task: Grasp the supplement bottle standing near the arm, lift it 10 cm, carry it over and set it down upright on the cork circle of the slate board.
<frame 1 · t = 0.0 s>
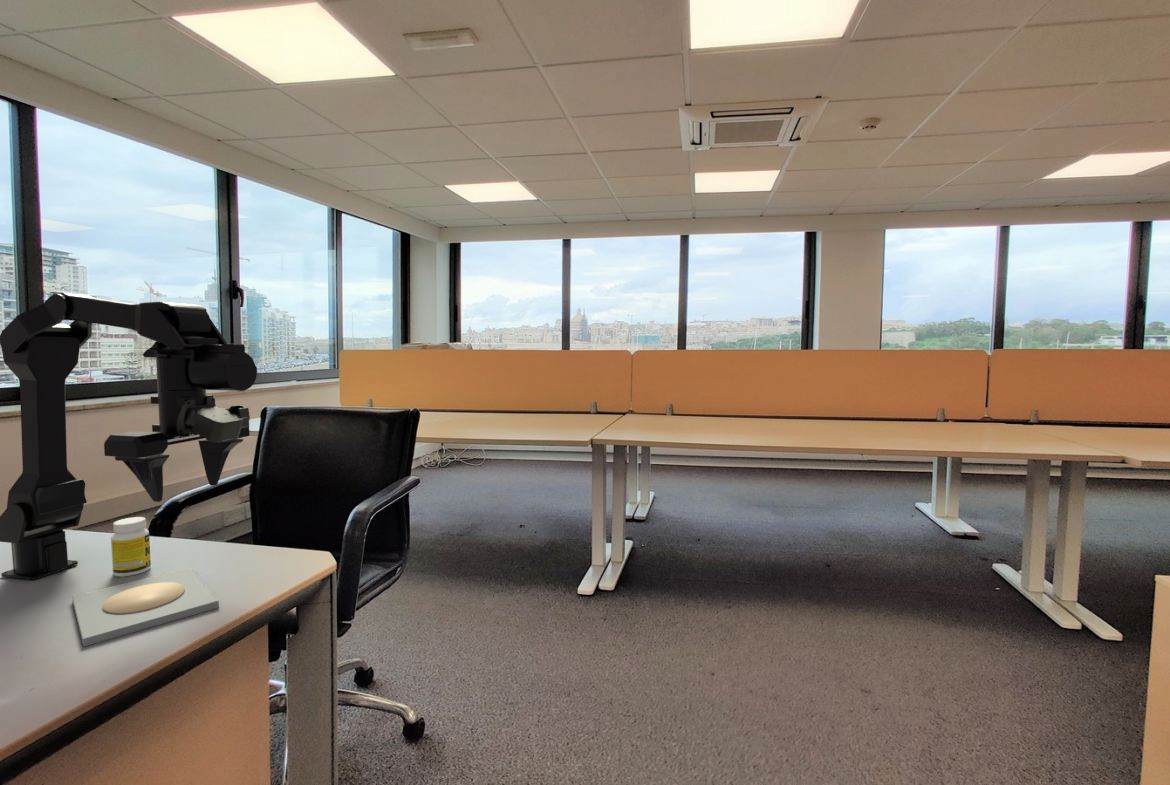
hand: (187, 492, 80), 15 cm above the table, fingers open, 9 cm apart
supplement bottle: (132, 572, 87), on the table
slate board: (145, 604, 76), on the table
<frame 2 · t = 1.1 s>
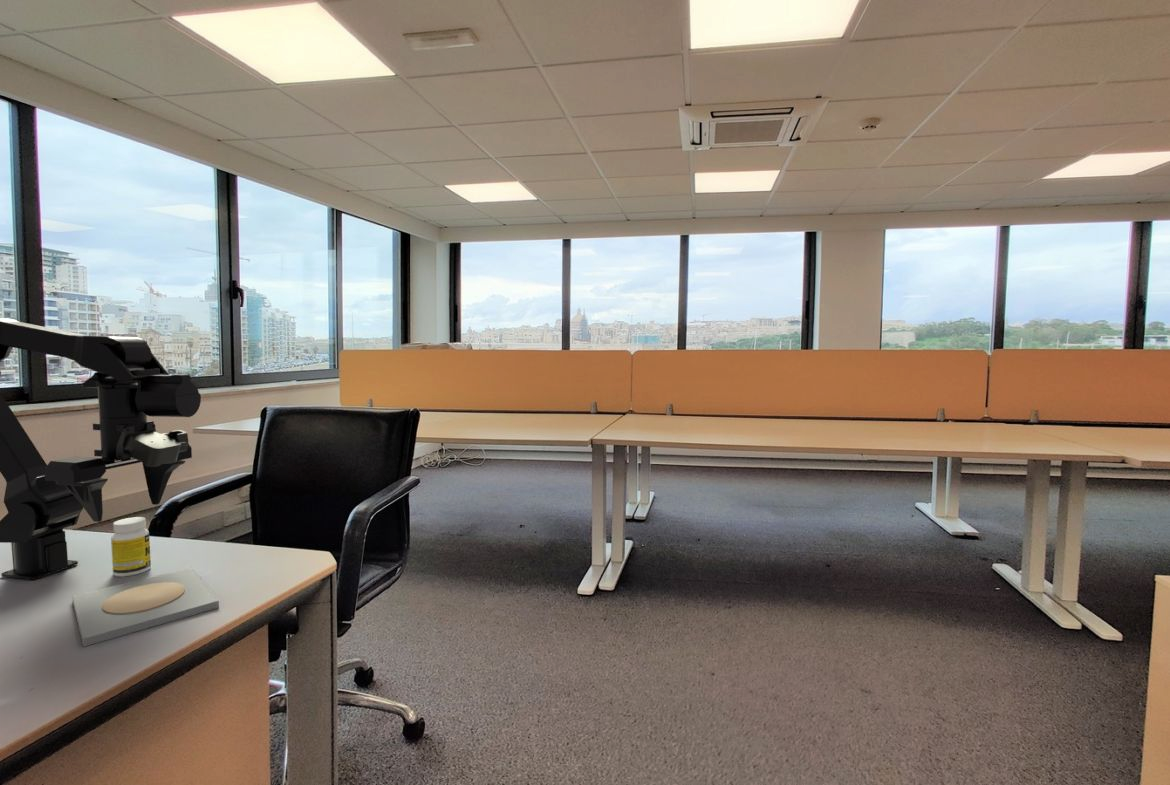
hand: (128, 512, 86), 10 cm above the table, fingers open, 9 cm apart
nothing on the table moved.
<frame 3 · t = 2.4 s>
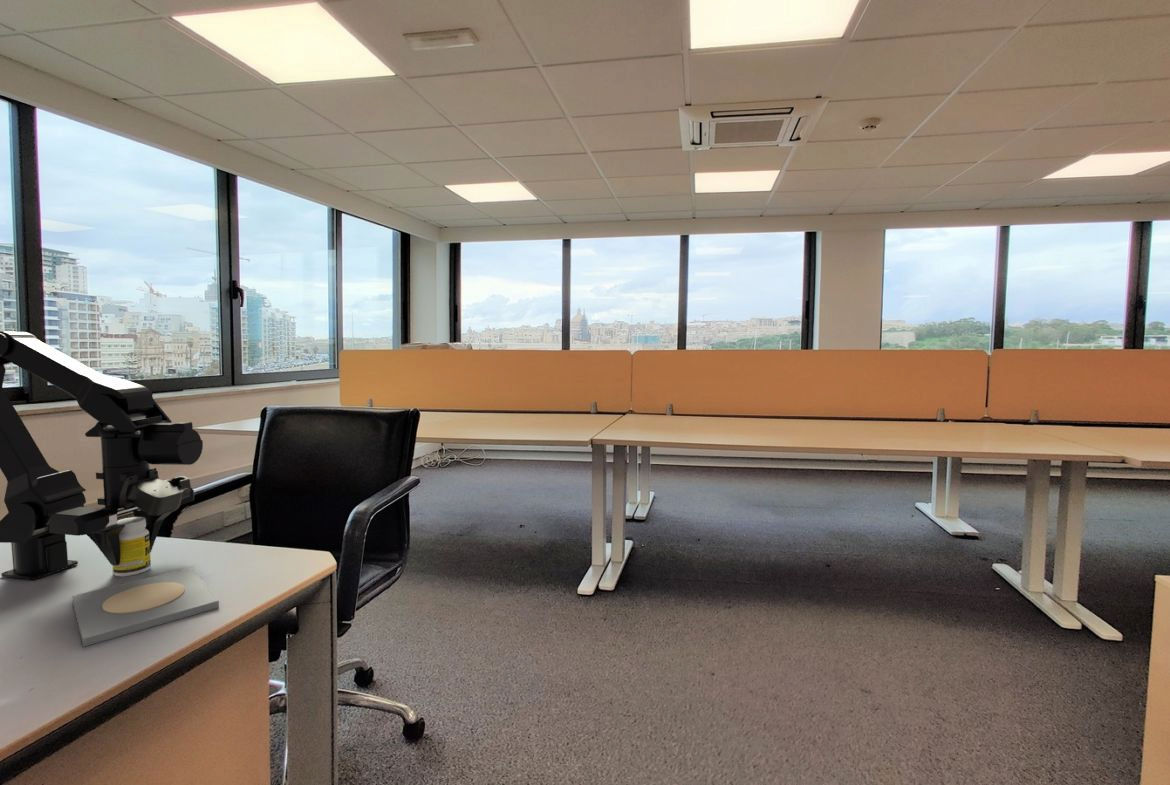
hand: (131, 558, 87), 2 cm above the table, fingers closed on supplement bottle, 5 cm apart
supplement bottle: (132, 572, 87), on the table, touching gripper
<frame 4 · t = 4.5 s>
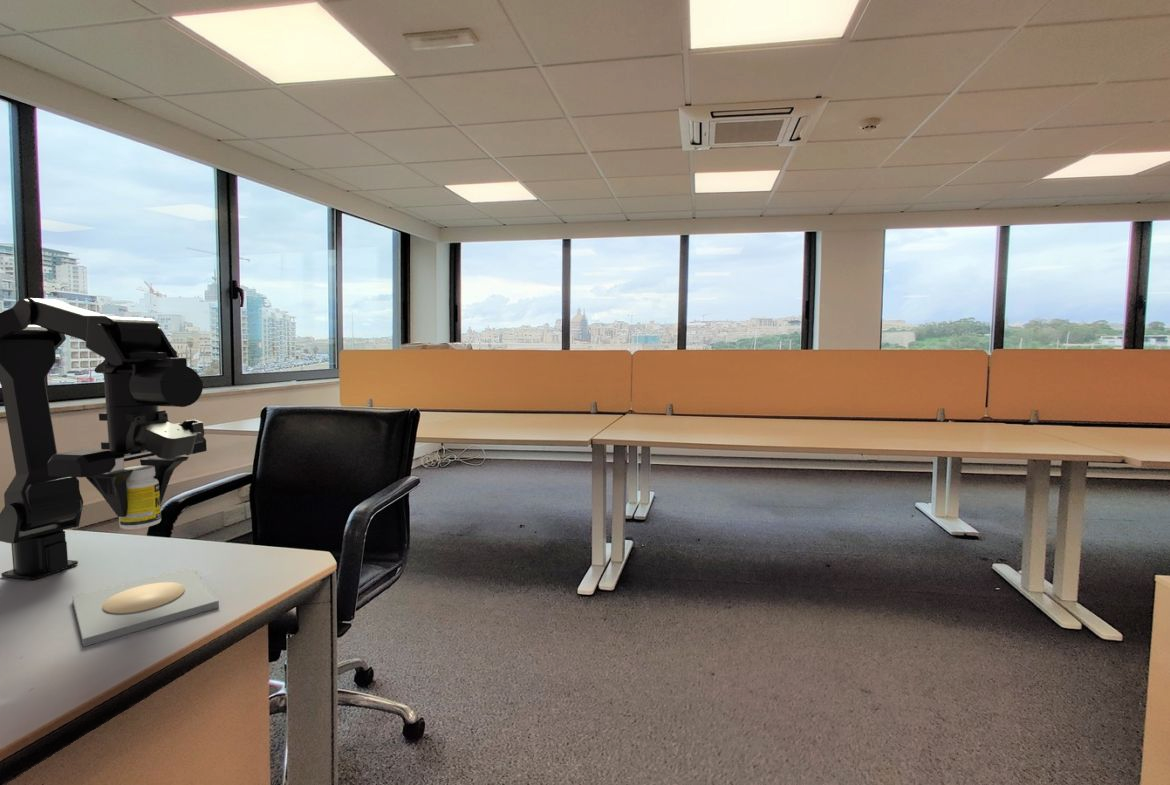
hand: (139, 511, 78), 12 cm above the table, fingers closed on supplement bottle, 5 cm apart
supplement bottle: (141, 526, 78), point 10 cm above the table, touching gripper
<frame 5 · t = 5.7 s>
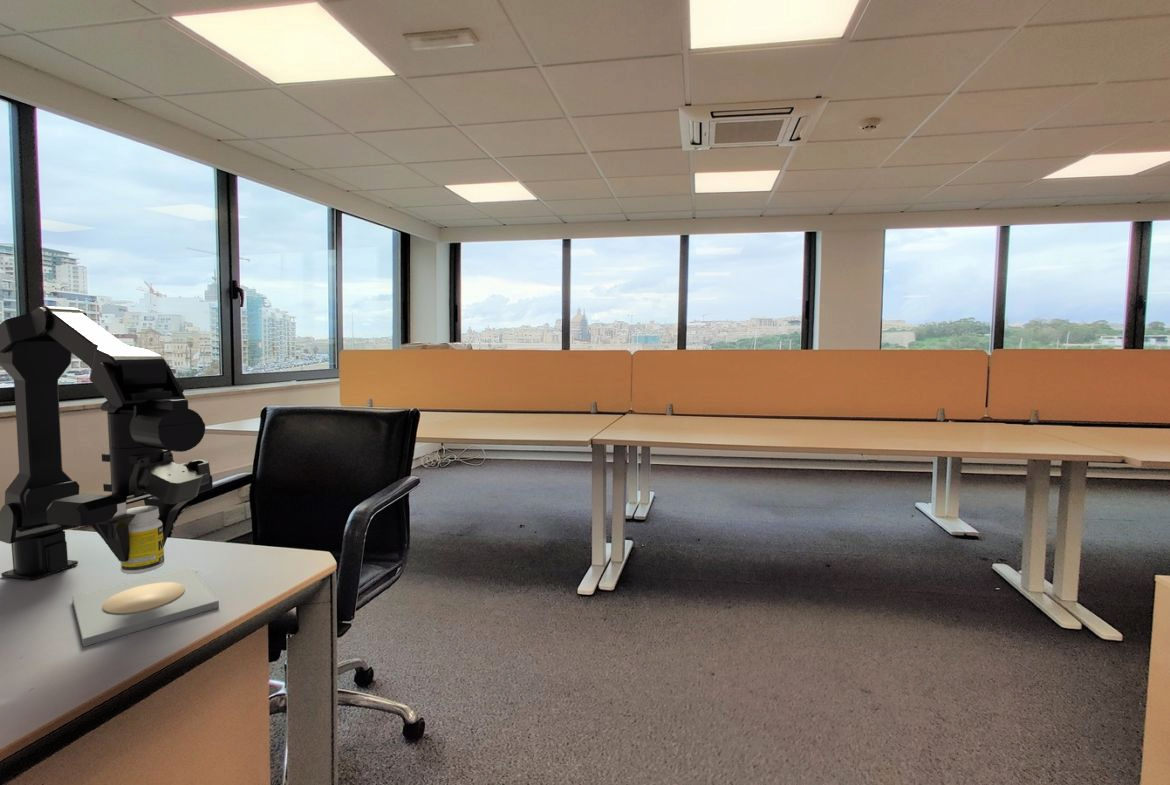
hand: (142, 554, 75), 7 cm above the table, fingers closed on supplement bottle, 5 cm apart
supplement bottle: (143, 569, 76), point 5 cm above the table, touching gripper
when the fingers open (5 cm above the table, at t = 6.5 s): supplement bottle drops 2 cm, resting on slate board.
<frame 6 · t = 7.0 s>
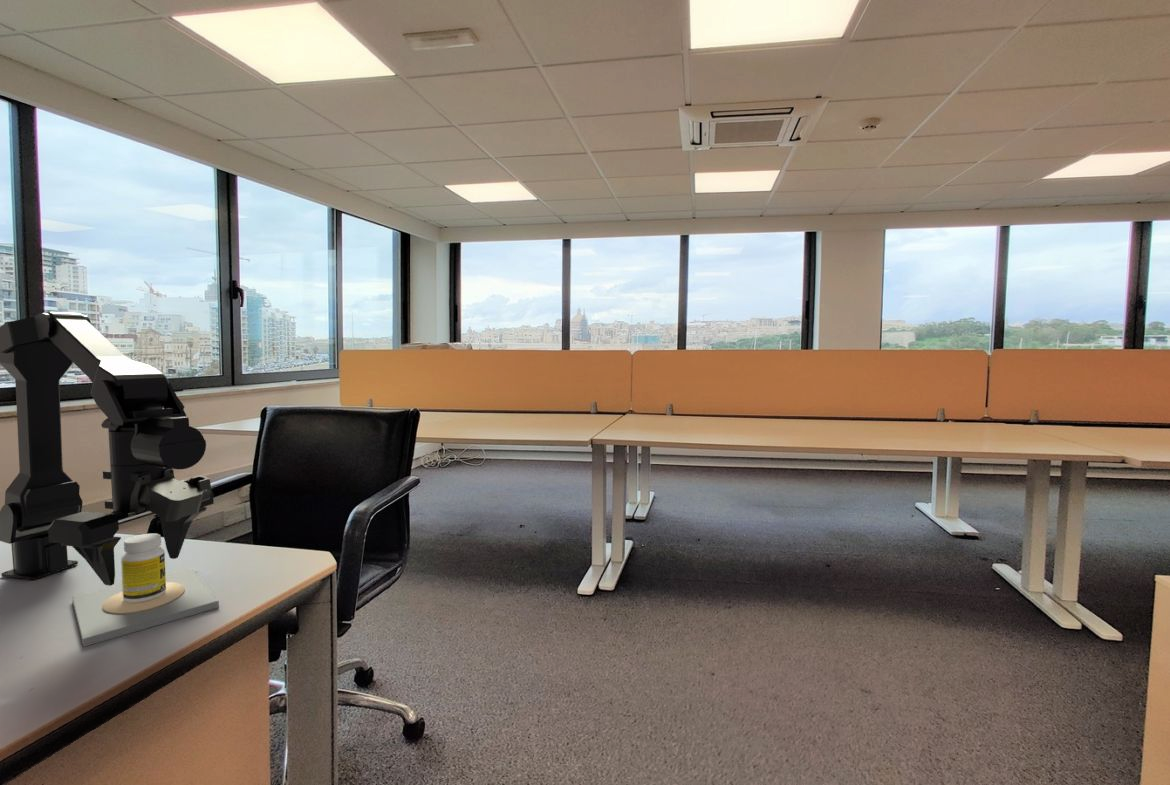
hand: (143, 570, 75), 5 cm above the table, fingers open, 9 cm apart
supplement bottle: (145, 597, 76), point 1 cm above the table, touching slate board
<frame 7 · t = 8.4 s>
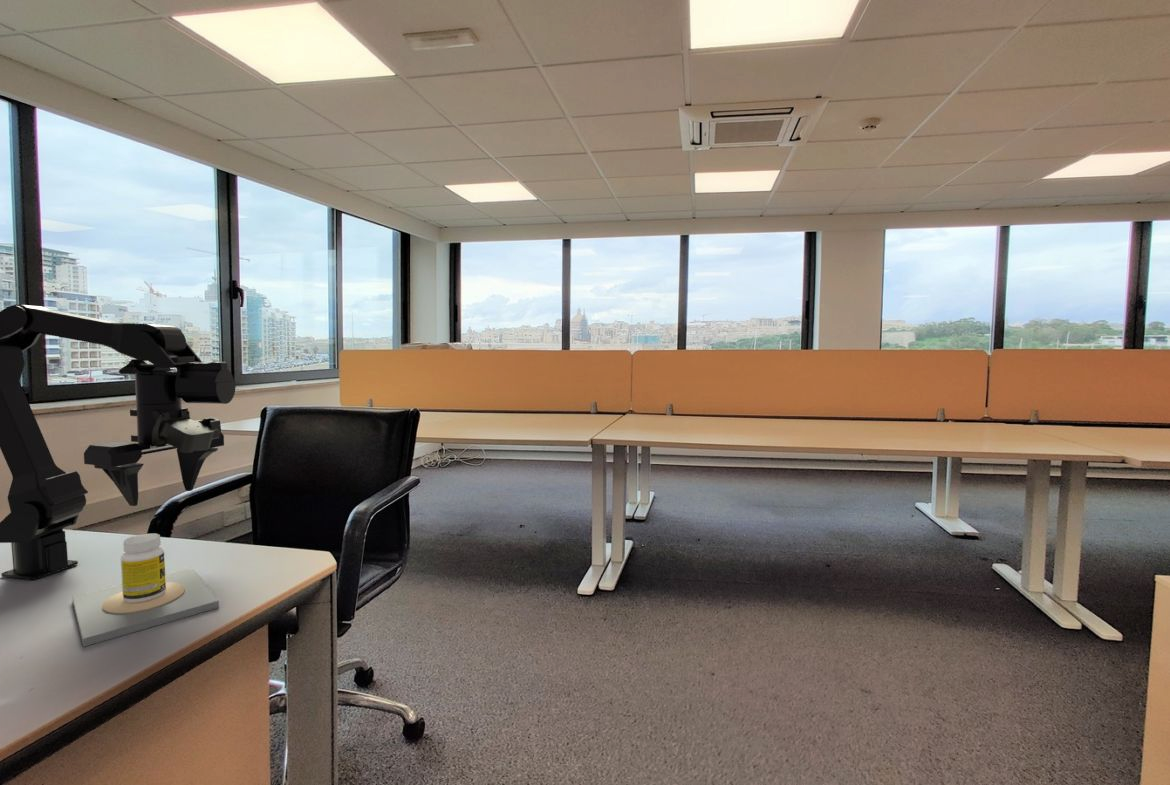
hand: (162, 497, 88), 12 cm above the table, fingers open, 9 cm apart
nothing on the table moved.
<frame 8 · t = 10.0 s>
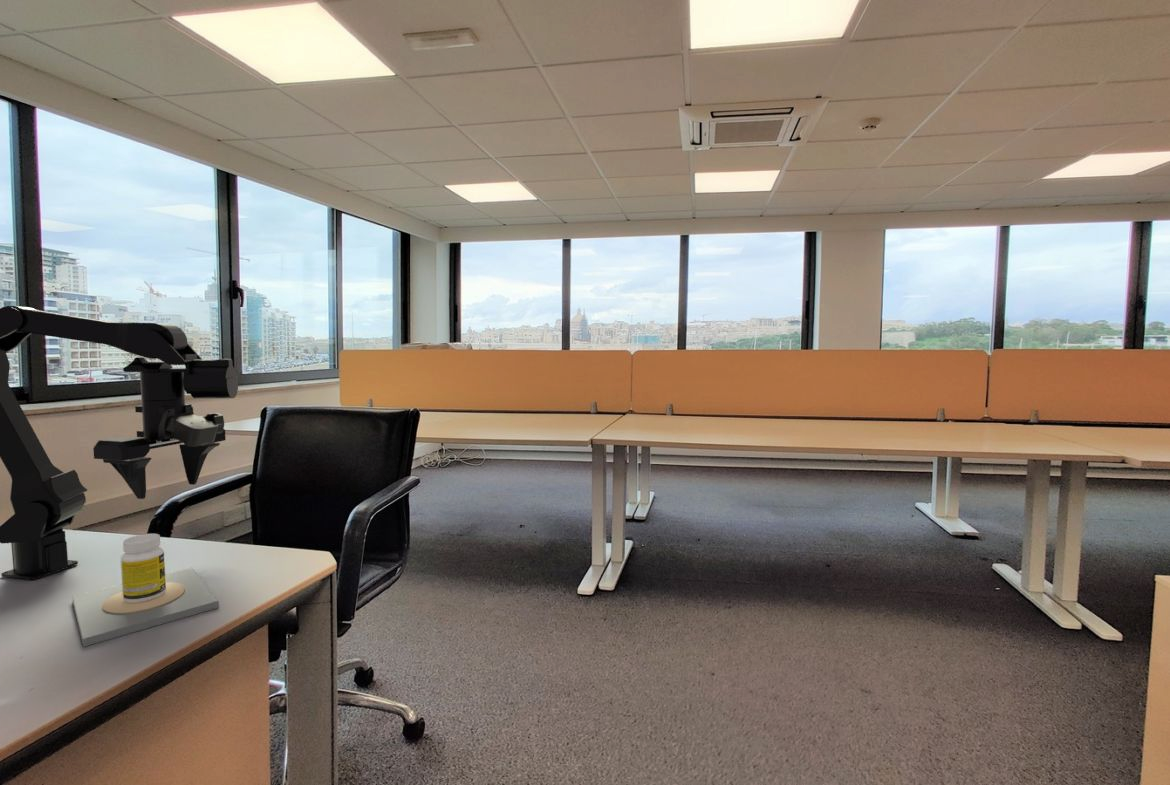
hand: (168, 491, 91), 12 cm above the table, fingers open, 9 cm apart
nothing on the table moved.
at the end: supplement bottle inside the target area on the slate board (0.0 cm from its centre), point 1.1 cm above the slate board's base; supplement bottle tilted 0°; the gripper is holding nothing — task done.
